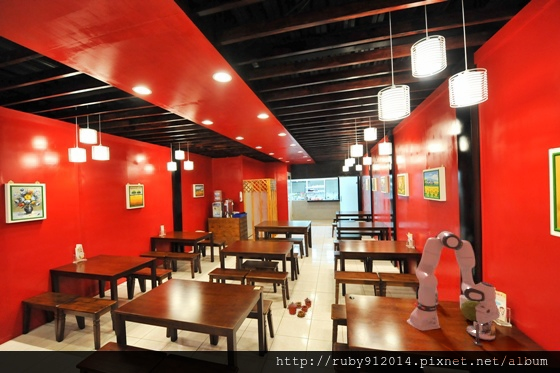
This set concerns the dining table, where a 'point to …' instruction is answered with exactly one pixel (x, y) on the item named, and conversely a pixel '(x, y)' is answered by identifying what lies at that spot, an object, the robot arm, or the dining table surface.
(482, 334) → the turntable
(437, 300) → the milk bottle
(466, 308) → the fruit
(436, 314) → the robot arm
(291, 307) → the toy tea set
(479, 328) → the dial stand
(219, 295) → the dining table surface
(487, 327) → the grey rounded lump
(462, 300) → the mug
